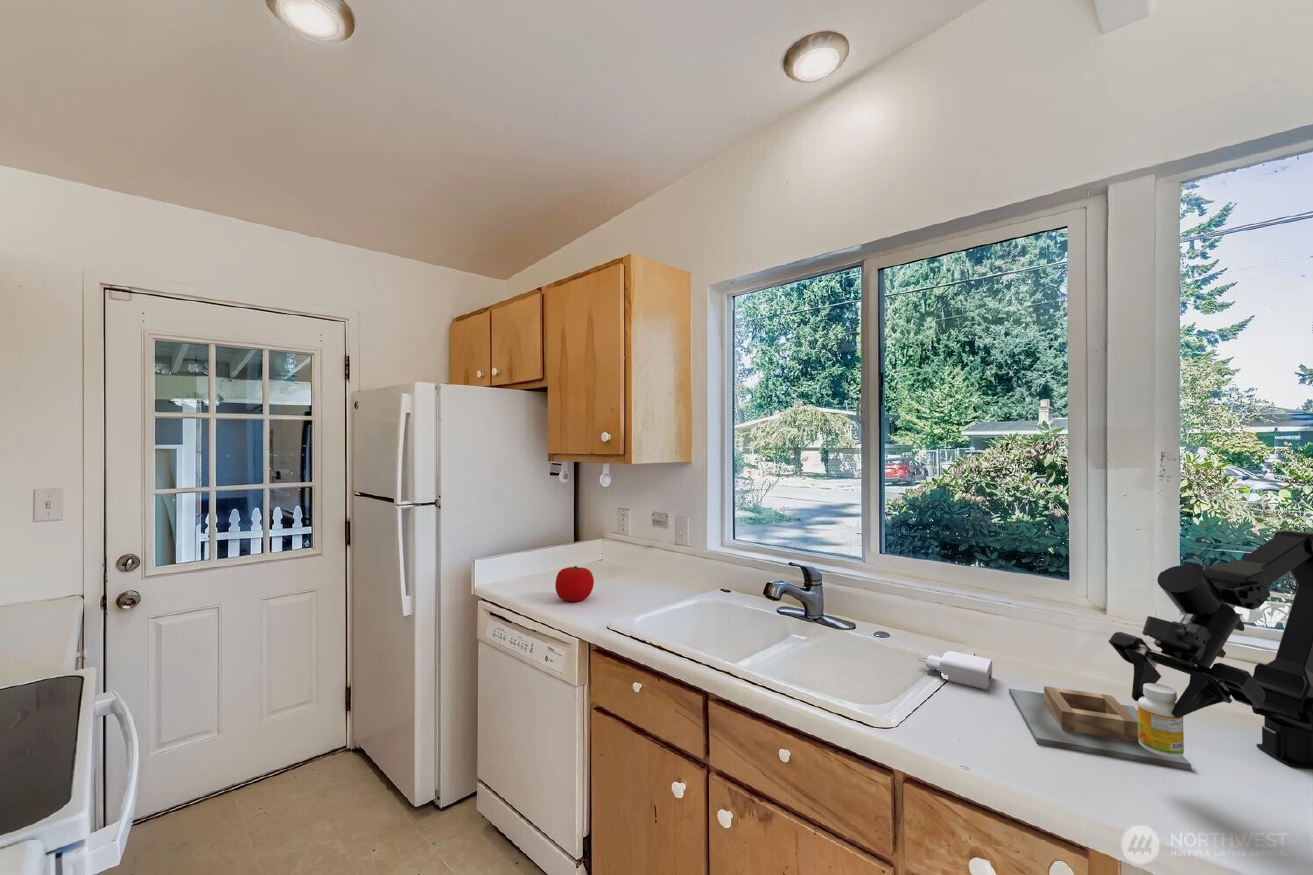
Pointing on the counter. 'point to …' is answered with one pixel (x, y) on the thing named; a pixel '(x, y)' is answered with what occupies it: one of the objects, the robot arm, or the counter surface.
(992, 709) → the counter surface
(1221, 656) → the robot arm
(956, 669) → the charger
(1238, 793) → the counter surface
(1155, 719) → the supplement bottle
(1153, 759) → the socket block
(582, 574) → the tomato
